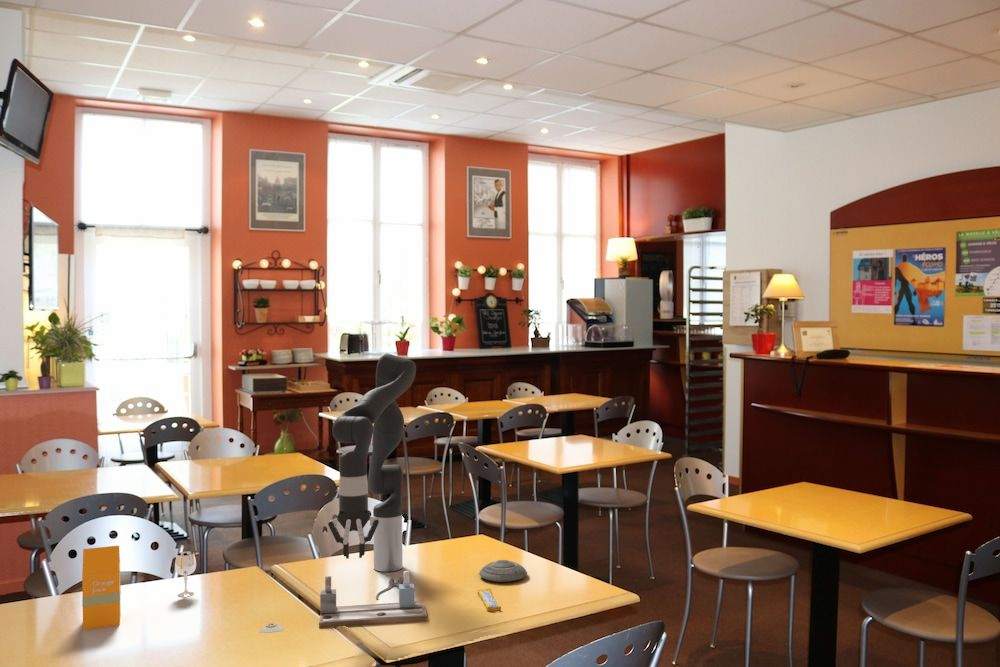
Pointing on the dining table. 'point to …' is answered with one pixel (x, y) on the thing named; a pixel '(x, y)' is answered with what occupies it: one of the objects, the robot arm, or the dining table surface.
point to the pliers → (390, 586)
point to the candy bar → (488, 600)
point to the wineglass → (185, 568)
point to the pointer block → (406, 592)
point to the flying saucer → (503, 571)
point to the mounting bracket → (271, 628)
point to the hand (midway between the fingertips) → (353, 557)
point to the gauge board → (365, 611)
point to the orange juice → (101, 587)
